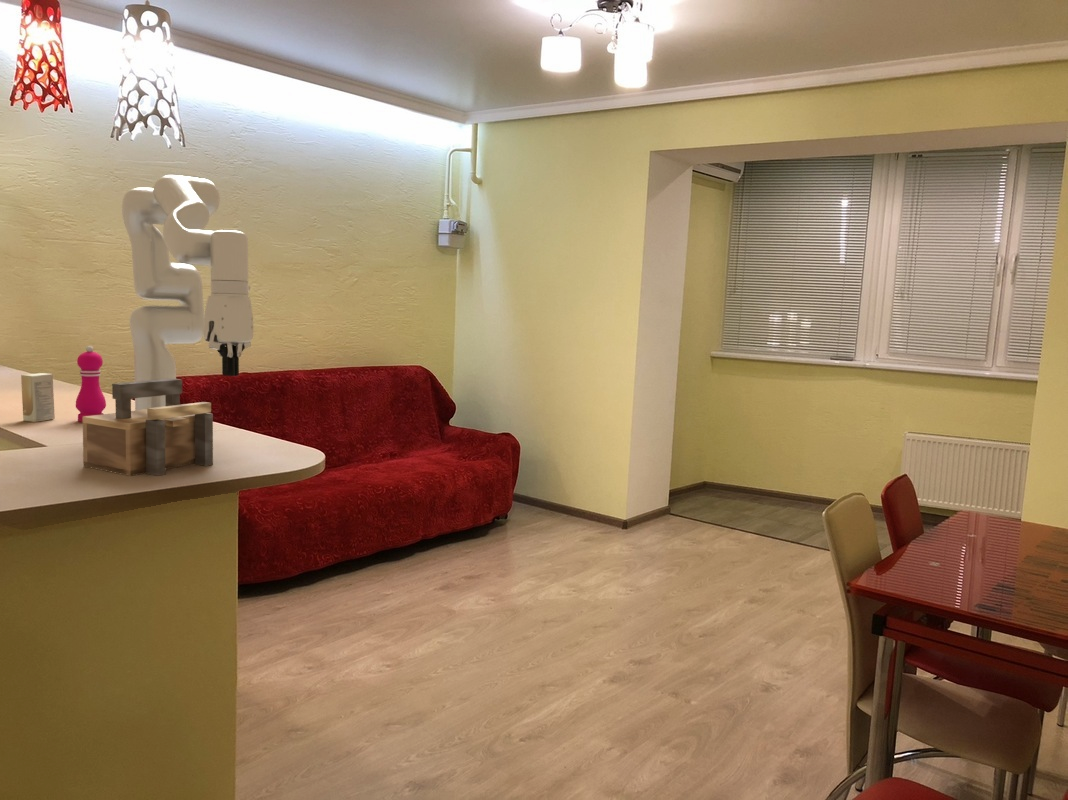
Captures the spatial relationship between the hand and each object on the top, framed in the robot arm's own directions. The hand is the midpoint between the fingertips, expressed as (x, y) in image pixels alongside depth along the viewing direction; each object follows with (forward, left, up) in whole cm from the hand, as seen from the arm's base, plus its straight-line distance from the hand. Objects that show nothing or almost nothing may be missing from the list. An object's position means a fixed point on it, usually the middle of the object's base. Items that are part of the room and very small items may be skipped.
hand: (230, 375), depth 184 cm
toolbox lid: (+13, -9, -9) cm, 18 cm away
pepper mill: (-14, -66, -19) cm, 70 cm away
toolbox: (+13, -8, -19) cm, 24 cm away
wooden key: (+13, 0, -7) cm, 15 cm away
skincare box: (-6, -76, -19) cm, 78 cm away
